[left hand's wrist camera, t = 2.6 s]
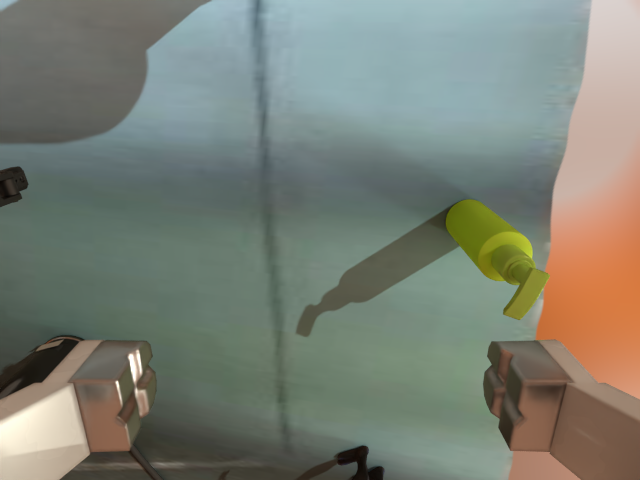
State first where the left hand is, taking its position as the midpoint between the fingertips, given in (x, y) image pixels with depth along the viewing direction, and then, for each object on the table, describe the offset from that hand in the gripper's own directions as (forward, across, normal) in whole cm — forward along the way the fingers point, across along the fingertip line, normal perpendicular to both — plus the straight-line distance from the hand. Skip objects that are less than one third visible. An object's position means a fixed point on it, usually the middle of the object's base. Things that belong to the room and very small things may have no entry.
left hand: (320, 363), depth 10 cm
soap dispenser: (+48, -20, +12) cm, 53 cm away
